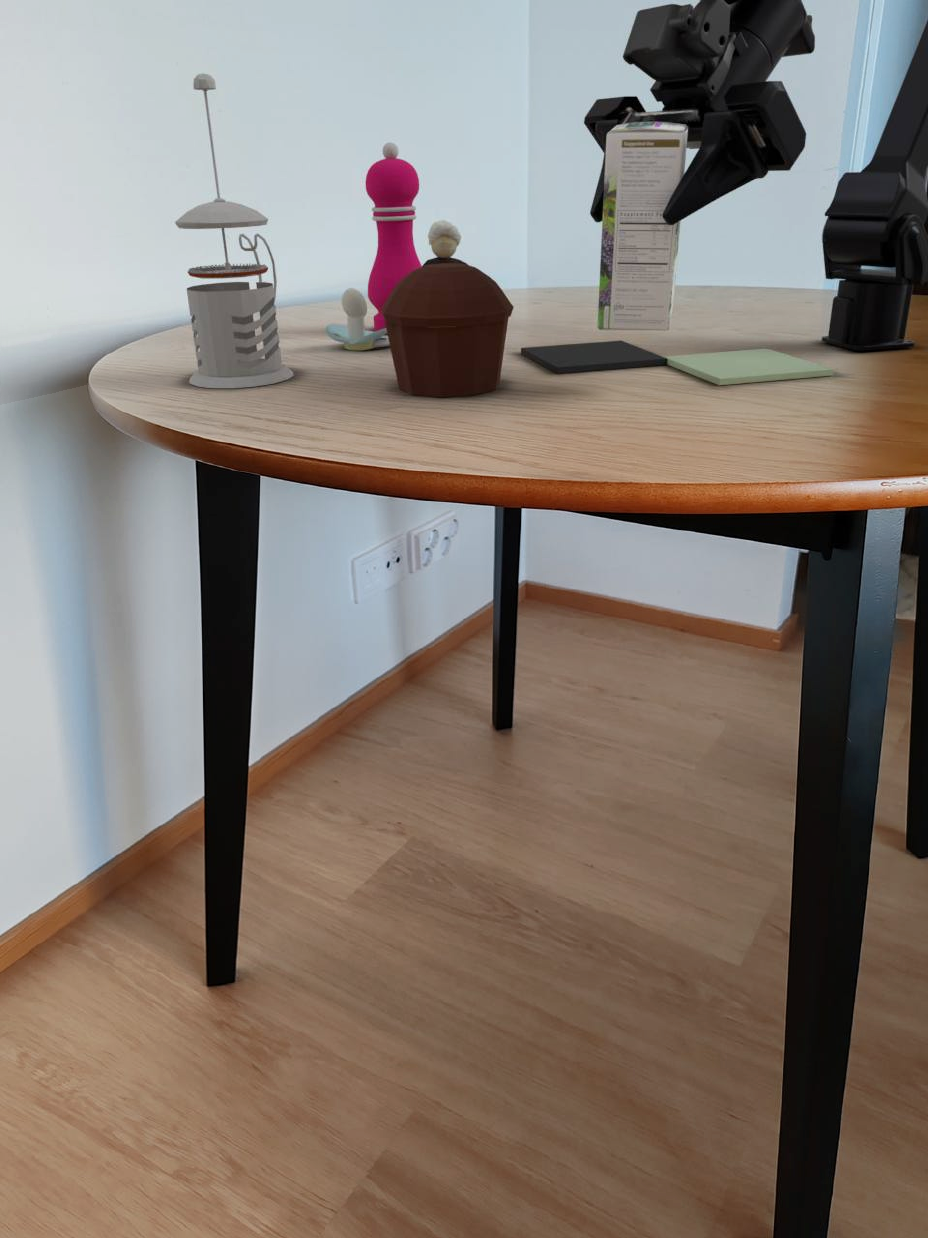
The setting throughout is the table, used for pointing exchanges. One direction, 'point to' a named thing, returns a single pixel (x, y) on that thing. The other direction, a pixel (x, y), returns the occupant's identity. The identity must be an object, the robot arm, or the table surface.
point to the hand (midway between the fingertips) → (628, 219)
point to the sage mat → (747, 366)
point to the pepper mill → (391, 225)
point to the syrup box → (640, 225)
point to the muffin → (447, 330)
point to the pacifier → (356, 325)
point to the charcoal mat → (592, 356)
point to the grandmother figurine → (443, 242)
